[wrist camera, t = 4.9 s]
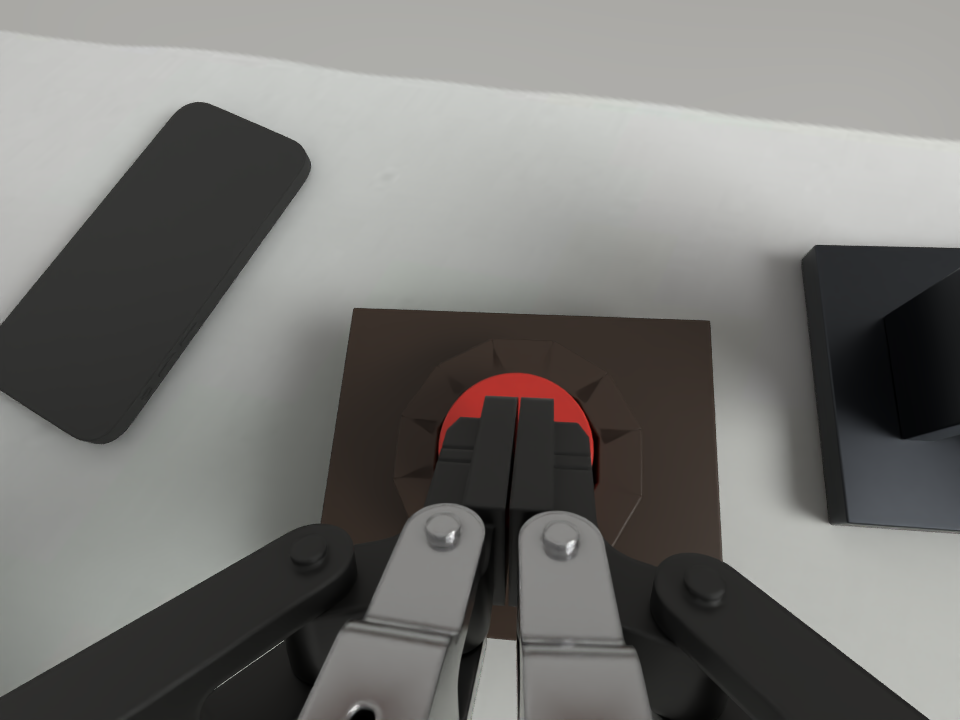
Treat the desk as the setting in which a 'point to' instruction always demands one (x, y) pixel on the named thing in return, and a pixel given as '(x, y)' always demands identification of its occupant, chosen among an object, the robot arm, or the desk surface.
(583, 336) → the control block
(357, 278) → the desk surface
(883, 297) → the switch bracket
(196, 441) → the desk surface
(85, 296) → the phone
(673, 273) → the desk surface
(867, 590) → the desk surface
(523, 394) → the stop button
